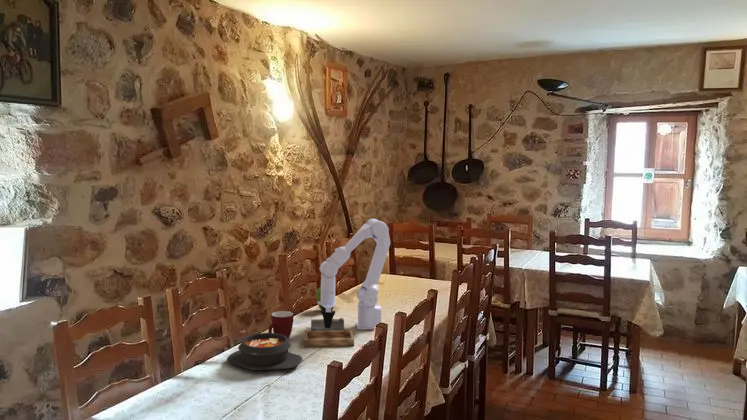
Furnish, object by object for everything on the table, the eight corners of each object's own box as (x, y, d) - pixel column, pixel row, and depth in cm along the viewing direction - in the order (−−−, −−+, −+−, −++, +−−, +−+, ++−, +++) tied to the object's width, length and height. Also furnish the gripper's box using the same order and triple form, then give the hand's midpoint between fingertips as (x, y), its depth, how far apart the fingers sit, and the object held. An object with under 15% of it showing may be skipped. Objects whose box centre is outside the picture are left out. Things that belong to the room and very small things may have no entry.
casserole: (216, 371, 171) (216, 345, 170) (242, 350, 189) (242, 327, 188) (290, 379, 165) (290, 353, 165) (309, 357, 184) (310, 334, 183)
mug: (279, 347, 193) (279, 320, 192) (262, 343, 197) (262, 316, 196) (297, 339, 202) (297, 313, 201) (280, 335, 206) (281, 309, 205)
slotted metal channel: (343, 328, 215) (343, 317, 215) (343, 330, 213) (344, 319, 213) (310, 329, 214) (310, 318, 213) (310, 331, 211) (310, 319, 211)
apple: (322, 315, 233) (323, 289, 232) (311, 310, 239) (312, 285, 238) (338, 311, 239) (339, 286, 238) (327, 307, 245) (327, 282, 244)
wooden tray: (351, 336, 206) (351, 330, 205) (354, 346, 196) (354, 339, 196) (304, 337, 203) (304, 331, 203) (304, 347, 194) (304, 340, 193)
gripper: (317, 287, 219) (316, 319, 220) (318, 296, 204) (317, 330, 206) (334, 286, 219) (334, 319, 221) (336, 296, 205) (336, 330, 206)
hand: (327, 324), depth 213 cm, fingers open, 7 cm apart
